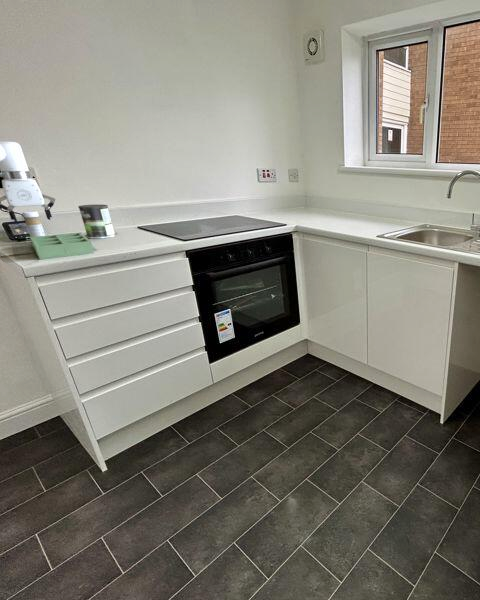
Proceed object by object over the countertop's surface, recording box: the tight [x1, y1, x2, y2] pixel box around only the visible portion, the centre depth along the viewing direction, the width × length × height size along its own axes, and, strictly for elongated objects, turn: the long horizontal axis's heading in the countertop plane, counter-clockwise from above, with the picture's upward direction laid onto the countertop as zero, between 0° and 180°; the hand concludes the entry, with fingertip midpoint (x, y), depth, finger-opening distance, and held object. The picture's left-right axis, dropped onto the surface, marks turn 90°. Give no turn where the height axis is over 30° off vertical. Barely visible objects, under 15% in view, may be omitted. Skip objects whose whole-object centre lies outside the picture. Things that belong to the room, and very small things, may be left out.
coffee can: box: [77, 204, 116, 240], centre depth 161 cm, size 10×10×14 cm
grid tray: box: [29, 232, 95, 260], centre depth 138 cm, size 15×23×5 cm
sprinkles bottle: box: [21, 210, 46, 238], centre depth 143 cm, size 5×5×14 cm
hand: (32, 220), depth 142 cm, fingers open, 9 cm apart
